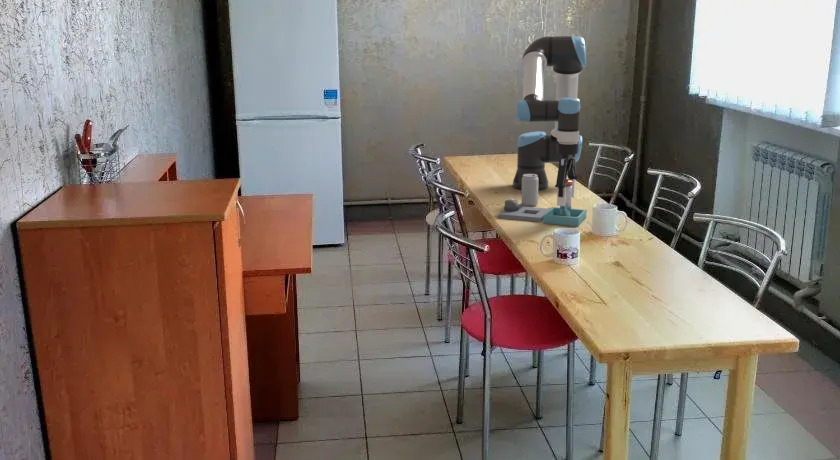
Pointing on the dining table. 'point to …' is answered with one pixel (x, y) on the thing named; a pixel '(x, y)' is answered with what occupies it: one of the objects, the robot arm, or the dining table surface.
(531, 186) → the beverage can
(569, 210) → the bottle with red cap
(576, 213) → the tray
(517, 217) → the board
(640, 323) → the dining table surface
